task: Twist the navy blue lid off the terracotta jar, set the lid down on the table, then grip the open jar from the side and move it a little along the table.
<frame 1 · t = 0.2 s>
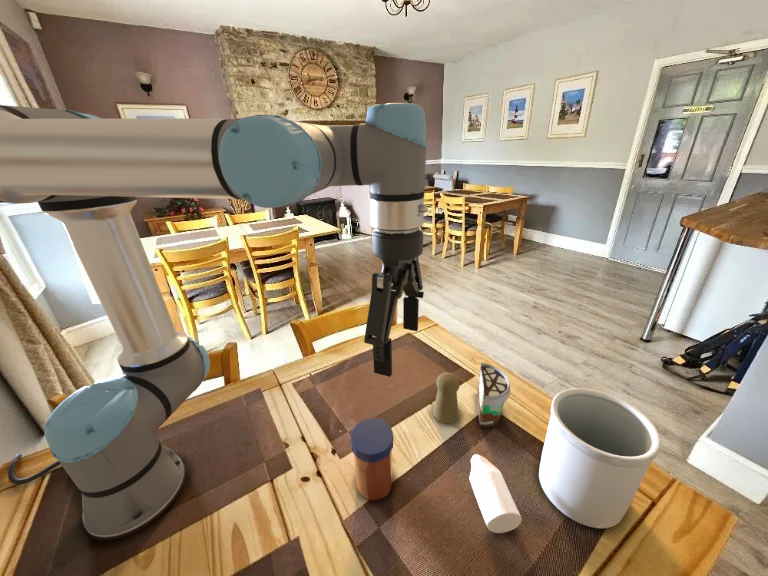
hand: (398, 349, 54), 27 cm above the table, tool pointing down, fingers open, 13 cm apart
jar: (374, 481, 60), on the table
food container: (491, 413, 74), on the table
lid: (372, 437, 55), point 12 cm above the table, screwed on, not yet turned
white dropper bottle: (487, 496, 57), on the table
utensil holder: (577, 488, 58), on the table
olive brown pawn: (445, 413, 75), on the table
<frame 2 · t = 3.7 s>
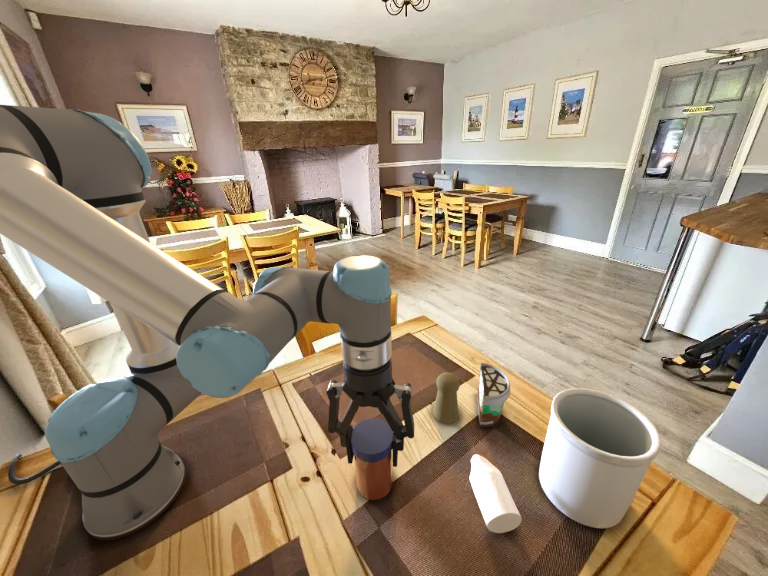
hand: (373, 458, 57), 7 cm above the table, tool pointing down, fingers closed on lid, 7 cm apart
lid: (372, 437, 55), point 12 cm above the table, screwed on, not yet turned, touching gripper
everything else where it was.
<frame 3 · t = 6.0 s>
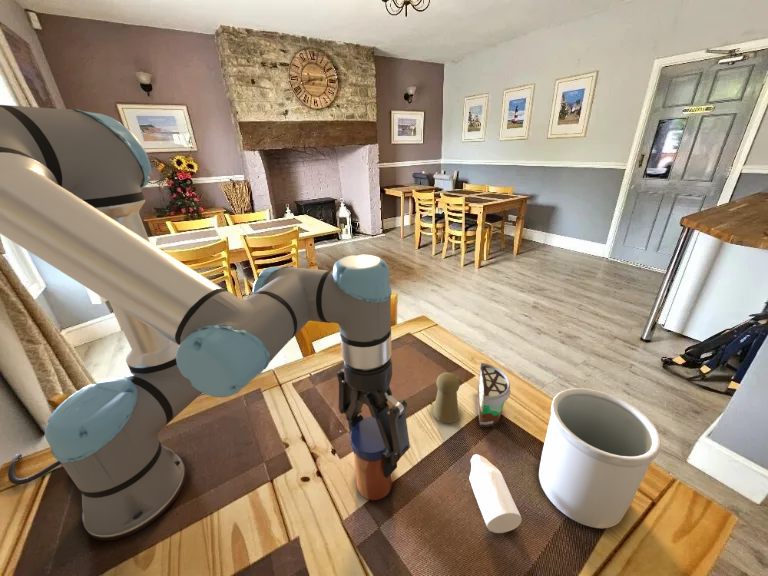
hand: (373, 457, 57), 7 cm above the table, tool pointing down, fingers closed on lid, 7 cm apart
lid: (372, 435, 54), point 13 cm above the table, turned 142° so far, risen 0.4 cm, still on its thread, touching gripper
everything else where it was.
when the fingers open (0 cm above the table, at t = 12.9 s): lid stays where it is, point 2 cm above the table.
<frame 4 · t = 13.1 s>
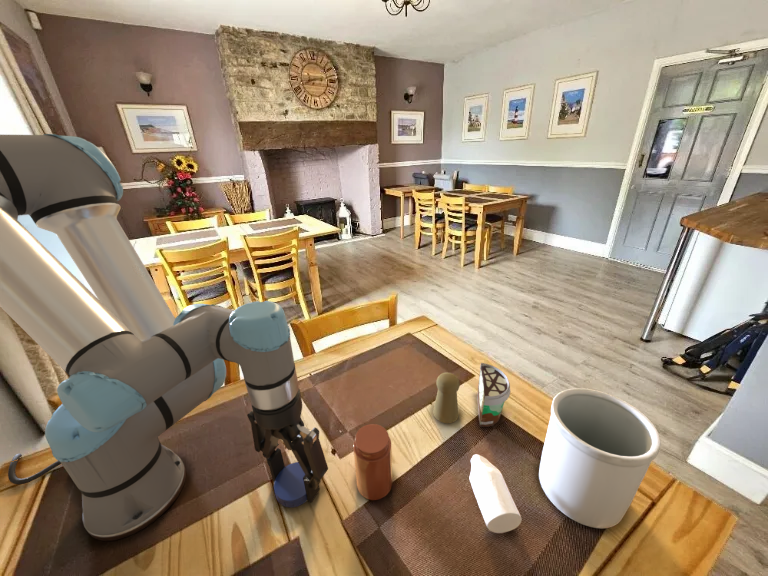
hand: (296, 485, 59), 0 cm above the table, tool pointing down, fingers open, 7 cm apart
lid: (295, 481, 59), point 2 cm above the table, off its thread, touching gripper
everything else where it was.
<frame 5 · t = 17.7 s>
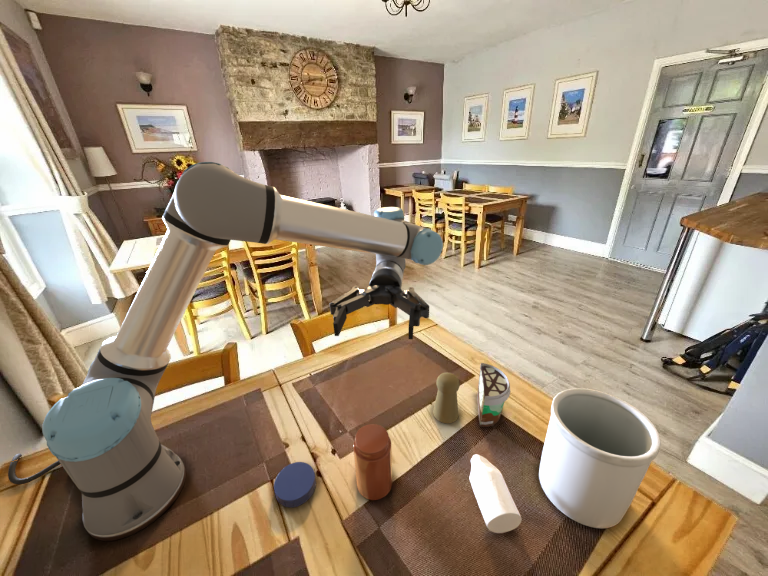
hand: (372, 331, 56), 29 cm above the table, tool horizontal, fingers open, 13 cm apart
lid: (295, 481, 59), point 1 cm above the table, off its thread
everything else where it was.
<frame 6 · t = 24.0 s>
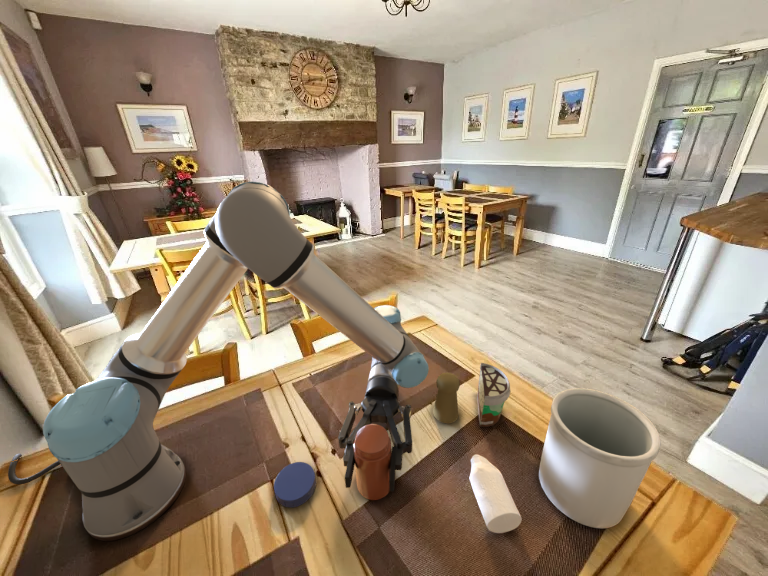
hand: (369, 484, 52), 7 cm above the table, tool horizontal, fingers closed on jar, 7 cm apart
jar: (374, 481, 60), on the table, touching gripper
everything else where it was.
when the fingers open (7 cm above the table, at t = 29.9 s): jar stays where it is, on the table.
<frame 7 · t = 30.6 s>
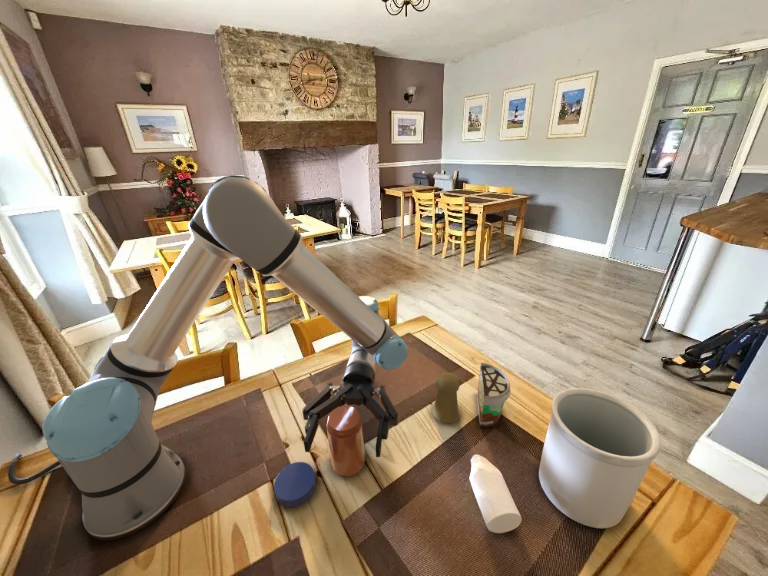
hand: (341, 449, 58), 7 cm above the table, tool horizontal, fingers open, 13 cm apart
jar: (348, 460, 64), on the table
everything else where it was.
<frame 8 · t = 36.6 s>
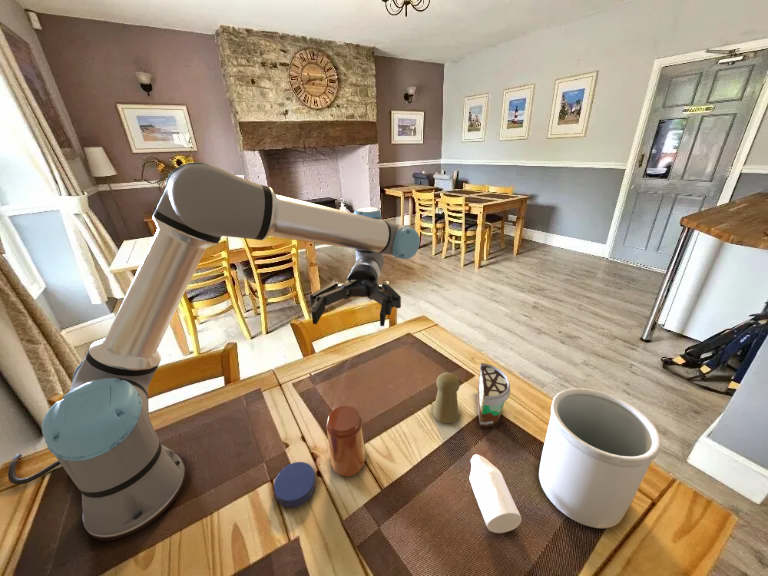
hand: (347, 319, 61), 28 cm above the table, tool horizontal, fingers open, 13 cm apart
nothing on the table moved.
at the end: lid point 1.5 cm above the table; the gripper is holding nothing; jar inside the target area (0.0 cm from its centre), on the table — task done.
